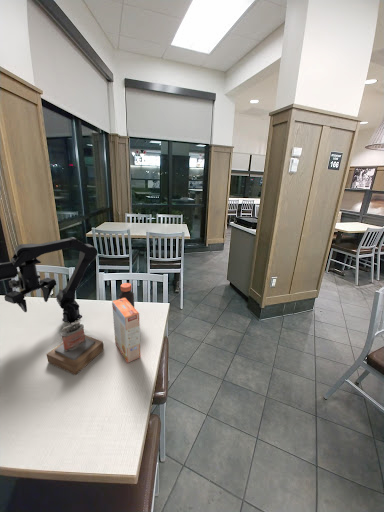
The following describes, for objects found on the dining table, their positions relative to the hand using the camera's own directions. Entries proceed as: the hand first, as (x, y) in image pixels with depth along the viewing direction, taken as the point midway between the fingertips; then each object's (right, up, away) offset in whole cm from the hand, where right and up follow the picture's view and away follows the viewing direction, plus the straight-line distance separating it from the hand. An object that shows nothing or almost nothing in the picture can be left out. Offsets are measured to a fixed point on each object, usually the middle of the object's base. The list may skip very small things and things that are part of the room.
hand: (36, 306), depth 98 cm
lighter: (+23, -13, -11) cm, 29 cm away
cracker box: (+42, -17, -5) cm, 46 cm away
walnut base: (+23, -17, -10) cm, 30 cm away
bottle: (+37, -10, +13) cm, 41 cm away
